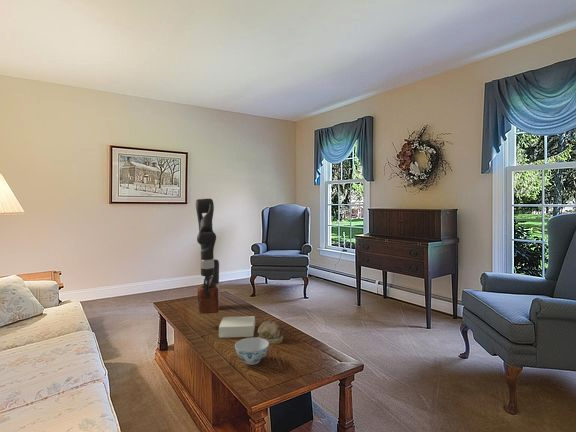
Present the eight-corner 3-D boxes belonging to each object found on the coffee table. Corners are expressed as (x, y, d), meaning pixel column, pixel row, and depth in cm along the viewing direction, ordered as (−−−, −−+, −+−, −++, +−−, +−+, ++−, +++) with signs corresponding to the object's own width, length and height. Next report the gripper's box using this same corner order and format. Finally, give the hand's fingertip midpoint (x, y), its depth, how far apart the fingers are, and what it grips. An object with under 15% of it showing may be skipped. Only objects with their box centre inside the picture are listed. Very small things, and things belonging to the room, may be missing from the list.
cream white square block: (223, 327, 193) (223, 317, 193) (255, 326, 194) (254, 316, 194) (218, 338, 177) (218, 327, 177) (253, 337, 178) (253, 326, 178)
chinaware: (272, 366, 144) (272, 348, 144) (237, 371, 140) (237, 353, 140) (265, 351, 159) (264, 335, 159) (233, 356, 155) (232, 339, 154)
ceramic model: (252, 342, 171) (252, 322, 171) (262, 334, 181) (261, 315, 181) (278, 345, 166) (278, 325, 166) (286, 337, 176) (286, 318, 176)
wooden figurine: (219, 310, 198) (218, 279, 197) (218, 313, 192) (218, 282, 191) (198, 311, 196) (197, 280, 195) (197, 314, 190) (196, 283, 189)
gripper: (202, 264, 199) (203, 292, 200) (198, 269, 185) (199, 299, 186) (215, 264, 200) (216, 292, 201) (212, 269, 186) (213, 299, 187)
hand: (208, 295), depth 193 cm, fingers closed on wooden figurine, 6 cm apart
